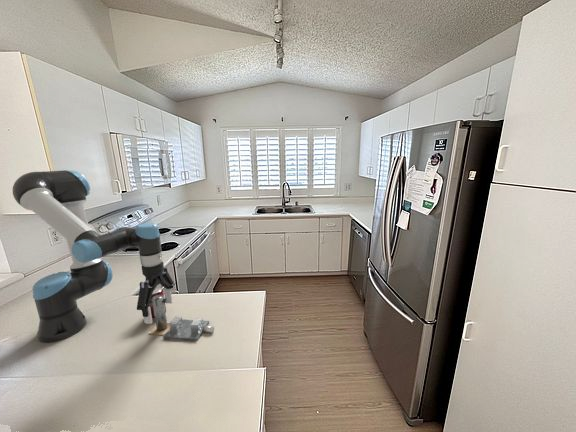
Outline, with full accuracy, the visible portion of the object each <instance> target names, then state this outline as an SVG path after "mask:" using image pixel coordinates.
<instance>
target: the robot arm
mask: <svg viewBox="0 0 576 432" xmlns="http://www.w3.org/2000/svg"><path fill="white" fill-rule="evenodd" d="M90 191H91V186H90V183H89V181H88V179H87V178H86V176H85V175H84V174H82V173H81V172H79V171H77V170H67V169H66V170H50V171H49V170H48V171H31V172H27V173H24V174H23V175H20V176H19V177H18V178H17V179H16V180H15V182H14V183H13V185H12V197H13V198H14V200H15V201H16V203H17V204H18V205H19V206H20V207H22V208H23V209H25V210H28V211H32V212H33V213H34V214H36V215H37V216H38V217H39V218H40V219H41V220H42V221H44V222H45V223H46V224H48V226H50V227H51V228H52V229H53V230H54V231H55V232H56V233H58V234H59V235H61V237H63V238H64V239H65V240H66V243H67V245H68V246H67V247H68V250H69V253H70V257H71V260H72V264H71V265H70V266H69V269H70V272H69V271H60V272H59V271H58V272H55V273H50V274H48V275H46V276H44V277H42V278H40V279H39V280H37V281H36V282H35V283H34V284H33V285H32V290H31V291H32V298H33V300H34V303H35V306H36V310H37V314H38V318H39V322H38V323H39V324H38V330H37V334H36V336H37V340H38V341H39V342H41V343H52V342H53V343H54V342H57V341H60V340H63V339H64V340H65V339H67V338H69V337H71V336H74V335H76V334H78V333H79V331H81V330H82V329H84V328H85V327H86V325H87V318H86V316H85V314H84V313H83V312H82V311H81V310H80V308H79V307H78V303H77V302H78V301H77V300H79V299H82V298H83V297H85V296H88V295H90V294H92V293H95V292H97V291H100V290H102V289H103V288H104V287H107V286H108V285H110V284H111V282H112V280H113V276H114V275H113V269H112V267H111V265H110V263H109V262H107V261H104V260H103V258H104V257H106V256H109V255H111V254H115V253H117V252H120V251H123V250H127V249H128V248H133V249H134V248H135V249H136V248H137V249H138V253H139V260H140V265H141V271H142V275H143V276H144V277H145V280H144V281H140V282H139V292H138V298H137V304H136V310H137V311H141V313H142V317H143V321H144V324H152V323H153V319H152V315H151V309H150V307H149V304H150V300H151V297H152V293H153V291H154V290H155V287H158V285H161V286H162V288H163V287H164V289H163V292H164V299H165V298H167V302H166V303H165V304H173V297H172V289H173V288H174V284H175V283H174V282H175V281H174V280H173V278H172V277H171V275H170V273H169V271H168V268H167V267H164V266H165V265H164V260H163V259H164V258H163V252H162V245H161V244H162V243H161V233H160V230H159V225H158V224H157V223H154V222H146V223H140V224H137V225H136V226H135V227H130V226H120V227H116V228H115V229H114V230H113V231H111V232H108V233H103V234H100V233H98V232H97V231H96V230H94V229H93V228H91V226H90V224H89V221H88V218H87V214H86V213H87V212H86V211H85V207H84V206H85V205H84V204H85V203H86V201H87V196H89V195H90V193H91V192H90Z"/></svg>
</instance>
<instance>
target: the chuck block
mask: <svg viewBox="0 0 576 432" xmlns="http://www.w3.org/2000/svg"><path fill="white" fill-rule="evenodd" d="M168 323H169V327H170V329H169V330H168V331H167V332H166V334H165V335H162V339H163V340H176V341H194V342H198V341H199V339H200V338H201V336H203V334H204V333H211V334H213V333H214V331H215V326H214V325H209V324H210V320H204V319H203V317H195V318H194V319H185V318H184V319H183V317H182V316H174V317H173V319H171V321H169V322H168Z"/></svg>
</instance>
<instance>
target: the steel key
mask: <svg viewBox="0 0 576 432" xmlns="http://www.w3.org/2000/svg"><path fill="white" fill-rule="evenodd" d="M166 302H167V298H165V297H164V299H163V295H156V296H154V297H153V298H152V299H151V300H150V304H153V310H154V316H155V319H154V321H155V322H154V323H155V326H156V329H157V331H164V330H165V329H167V323H168V322H167V321H168V320H167V315H166V313H167V312H166V313H165V306H166V305H165V306H164V303H165V304H167V303H166Z"/></svg>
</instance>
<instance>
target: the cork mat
mask: <svg viewBox="0 0 576 432" xmlns="http://www.w3.org/2000/svg"><path fill="white" fill-rule="evenodd" d="M169 323H170V322H167V329H165V330H164V331H157V329H156V325H155V326H154V327H153V328H152V329H151V330H150V331H149V332H148V335H153V336H154V335H156V336H164V335H165V334H166V332H167V331H168V330H169V329H170V327H169Z"/></svg>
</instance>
